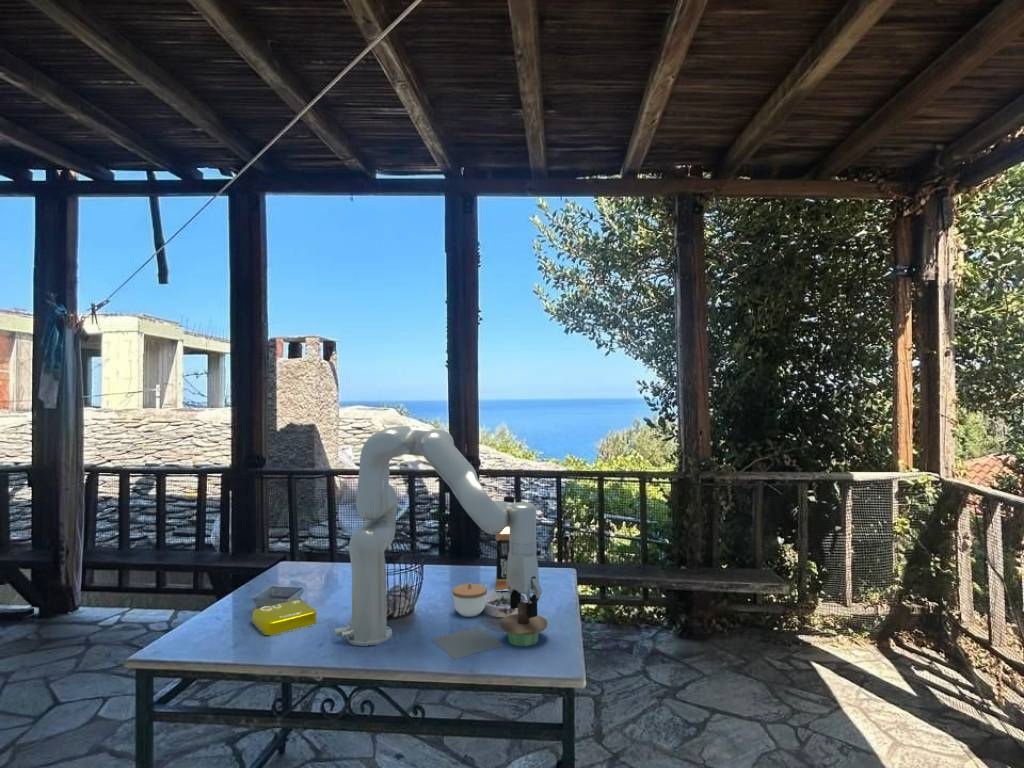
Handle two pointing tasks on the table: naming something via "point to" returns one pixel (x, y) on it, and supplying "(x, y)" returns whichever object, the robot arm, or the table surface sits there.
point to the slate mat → (467, 642)
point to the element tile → (284, 617)
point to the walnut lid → (523, 622)
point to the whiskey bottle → (502, 554)
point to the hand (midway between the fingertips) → (523, 611)
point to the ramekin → (523, 639)
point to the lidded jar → (469, 599)
